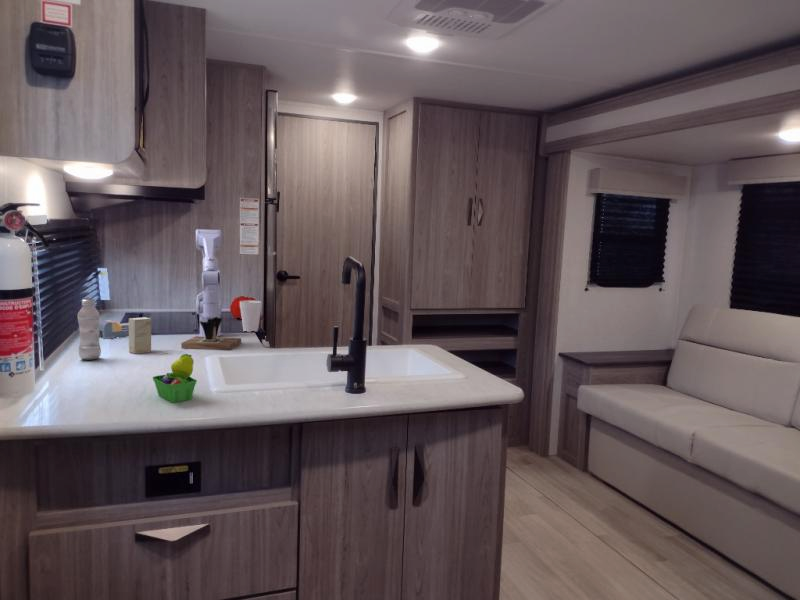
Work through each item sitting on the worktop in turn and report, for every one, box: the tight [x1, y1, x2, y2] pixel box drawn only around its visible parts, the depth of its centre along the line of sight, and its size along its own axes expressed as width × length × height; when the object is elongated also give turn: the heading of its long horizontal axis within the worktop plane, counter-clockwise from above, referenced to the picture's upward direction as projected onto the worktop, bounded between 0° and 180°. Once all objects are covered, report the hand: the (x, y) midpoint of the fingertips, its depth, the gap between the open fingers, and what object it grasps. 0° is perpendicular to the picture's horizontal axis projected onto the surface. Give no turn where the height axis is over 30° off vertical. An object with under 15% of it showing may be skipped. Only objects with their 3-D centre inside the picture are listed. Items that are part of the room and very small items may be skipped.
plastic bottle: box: [76, 298, 102, 361], centre depth 186 cm, size 6×7×20 cm
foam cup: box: [240, 300, 263, 333], centre depth 250 cm, size 10×9×13 cm
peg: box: [205, 327, 216, 342], centre depth 215 cm, size 4×4×6 cm
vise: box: [98, 319, 129, 340], centre depth 229 cm, size 18×10×7 cm, turn 140°
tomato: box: [229, 295, 257, 320], centre depth 282 cm, size 13×14×12 cm
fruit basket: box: [152, 353, 197, 403], centre depth 149 cm, size 11×9×11 cm
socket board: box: [180, 335, 242, 351], centre depth 216 cm, size 14×18×2 cm
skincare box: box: [128, 316, 152, 355], centre depth 200 cm, size 6×4×12 cm
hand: (211, 338), depth 215 cm, fingers closed on peg, 4 cm apart
